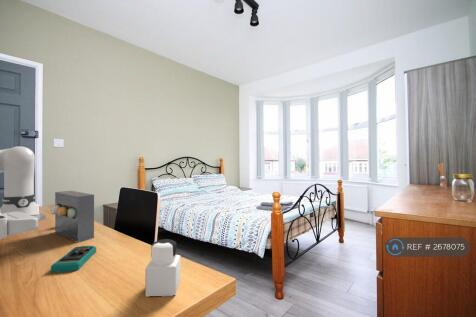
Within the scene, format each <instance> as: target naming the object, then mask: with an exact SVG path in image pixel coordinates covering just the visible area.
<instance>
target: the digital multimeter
mask: <svg viewBox="0 0 476 317" xmlns="http://www.w3.org/2000/svg"><path fill="white" fill-rule="evenodd" d="M96 253H97V246H95V245H82V246H76V247H73V248H72V249H71V250H70V251H69V252H67V253H66V254H65V255H63V256H62V257H60V259H59V258H58V260H56V261H55V262H54V263H53V264H51V266H50V273H52V274H55V273H68V272H76V271H79V270H80V269H81V268H82V267H83V265H85V263H87V262H88V261H89V260H90V258H91V257H93V256H94V255H95V254H96Z"/></svg>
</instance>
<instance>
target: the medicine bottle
mask: <svg viewBox="0 0 476 317" xmlns="http://www.w3.org/2000/svg"><path fill="white" fill-rule="evenodd" d="M150 247H151V248H150V249H151V250H150V252H151V253H150V254H151V255H150V257H151V258H150V261H149V263H148V264H147V266H146V267H145V285H144V286H145V288H144V289H145V293H144V294H145V297H146V296H162V297H174V296H173V295H175V296H176V294H177V292H178V289H179V285H180V282H181V255H180V254H177V242H176V241H175V240H173V239H171V238H170V239H168V238H164V239H159V240H156V241H155V242H153V243H152V244H151V246H150Z"/></svg>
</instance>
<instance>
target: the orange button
mask: <svg viewBox="0 0 476 317" xmlns="http://www.w3.org/2000/svg"><path fill="white" fill-rule="evenodd" d="M67 211H68V209H67V207H60V208H58V209H57V214H58V216H65V215H67Z"/></svg>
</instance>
